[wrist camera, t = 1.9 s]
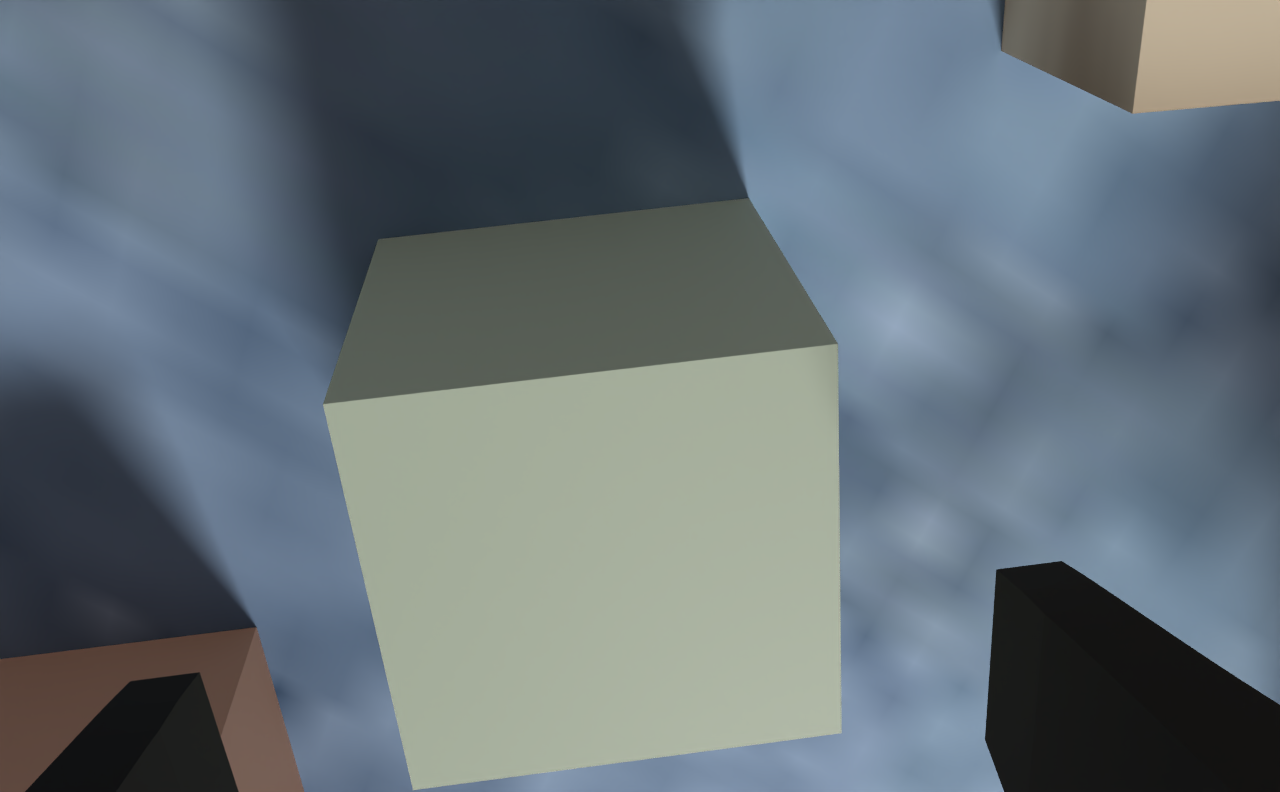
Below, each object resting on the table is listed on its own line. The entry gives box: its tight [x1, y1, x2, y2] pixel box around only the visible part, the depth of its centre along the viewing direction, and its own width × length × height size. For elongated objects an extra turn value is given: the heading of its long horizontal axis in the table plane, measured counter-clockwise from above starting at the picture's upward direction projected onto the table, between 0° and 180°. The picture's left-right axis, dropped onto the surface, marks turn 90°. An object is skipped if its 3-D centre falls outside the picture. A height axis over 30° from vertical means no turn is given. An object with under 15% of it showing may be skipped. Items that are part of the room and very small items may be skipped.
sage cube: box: [323, 198, 841, 790], centre depth 15 cm, size 5×5×5 cm
